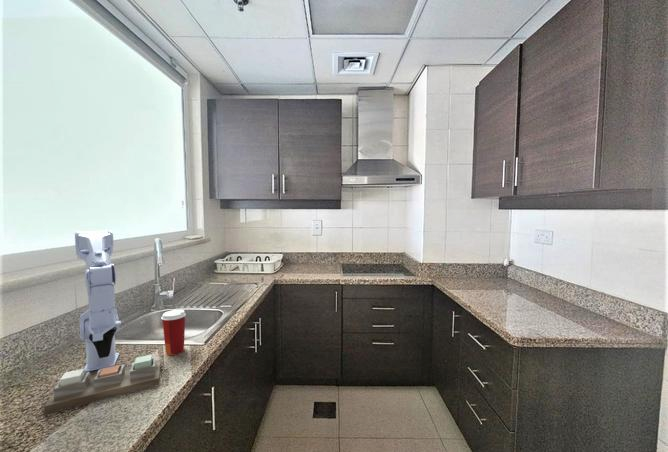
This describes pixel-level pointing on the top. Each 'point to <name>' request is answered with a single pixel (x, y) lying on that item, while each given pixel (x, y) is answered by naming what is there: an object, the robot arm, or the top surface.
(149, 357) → the sage button
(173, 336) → the paper cup
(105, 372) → the terracotta button
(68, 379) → the cream button
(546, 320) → the top surface
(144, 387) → the button board
